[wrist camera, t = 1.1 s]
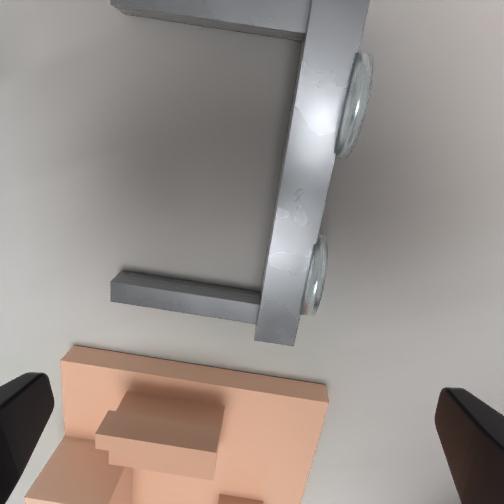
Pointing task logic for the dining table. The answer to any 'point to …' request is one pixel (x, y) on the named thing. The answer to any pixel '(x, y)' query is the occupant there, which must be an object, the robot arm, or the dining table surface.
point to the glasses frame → (293, 164)
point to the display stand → (179, 434)
